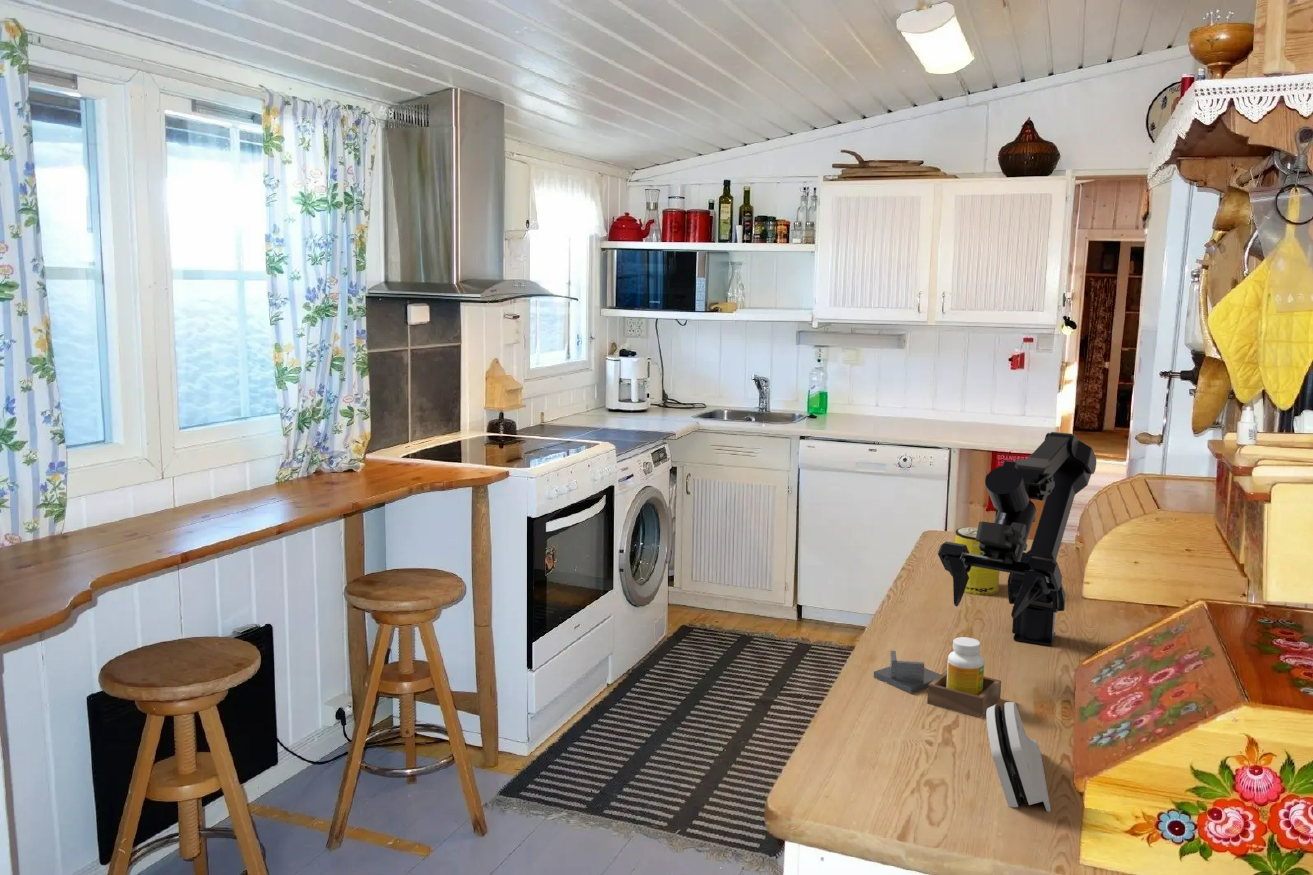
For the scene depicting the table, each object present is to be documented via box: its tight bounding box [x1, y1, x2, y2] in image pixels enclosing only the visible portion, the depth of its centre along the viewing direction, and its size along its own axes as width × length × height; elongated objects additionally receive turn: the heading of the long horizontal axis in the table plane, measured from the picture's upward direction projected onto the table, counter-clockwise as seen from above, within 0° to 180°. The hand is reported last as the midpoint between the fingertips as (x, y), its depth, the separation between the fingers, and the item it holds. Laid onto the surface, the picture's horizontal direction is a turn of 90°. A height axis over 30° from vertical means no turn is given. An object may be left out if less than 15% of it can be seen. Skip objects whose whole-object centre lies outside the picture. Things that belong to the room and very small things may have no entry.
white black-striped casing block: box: [985, 701, 1052, 812], centre depth 134 cm, size 17×5×10 cm, turn 164°
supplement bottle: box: [946, 636, 985, 696], centre depth 157 cm, size 5×5×10 cm
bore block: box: [926, 669, 1002, 718], centre depth 158 cm, size 8×8×3 cm
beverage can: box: [954, 526, 1000, 596], centre depth 212 cm, size 9×9×12 cm
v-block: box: [873, 650, 942, 695], centre depth 166 cm, size 8×8×4 cm
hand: (983, 610), depth 161 cm, fingers open, 9 cm apart
